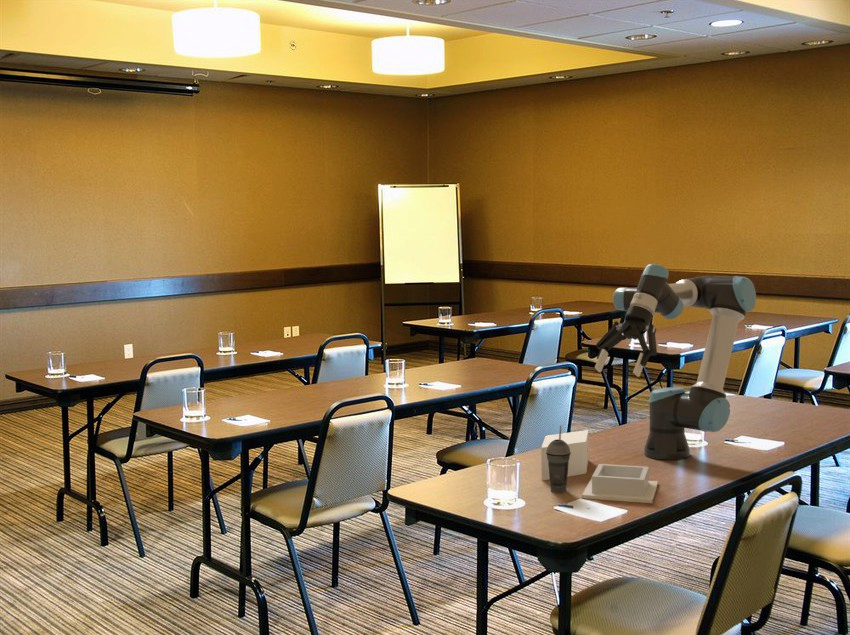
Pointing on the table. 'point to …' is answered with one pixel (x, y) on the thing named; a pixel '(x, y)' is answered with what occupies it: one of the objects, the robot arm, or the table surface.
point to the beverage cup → (558, 464)
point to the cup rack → (621, 484)
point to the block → (577, 450)
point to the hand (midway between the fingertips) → (616, 372)
